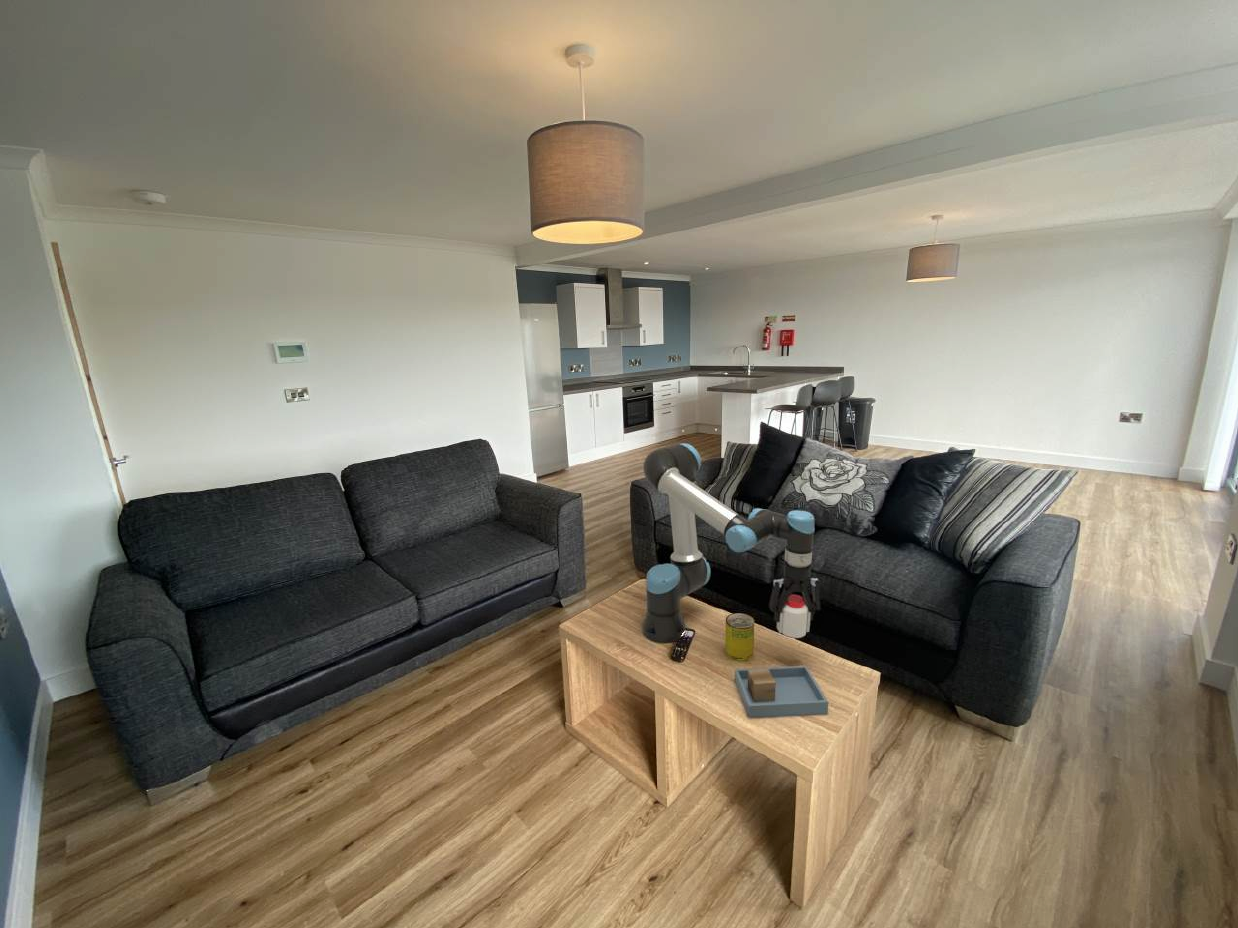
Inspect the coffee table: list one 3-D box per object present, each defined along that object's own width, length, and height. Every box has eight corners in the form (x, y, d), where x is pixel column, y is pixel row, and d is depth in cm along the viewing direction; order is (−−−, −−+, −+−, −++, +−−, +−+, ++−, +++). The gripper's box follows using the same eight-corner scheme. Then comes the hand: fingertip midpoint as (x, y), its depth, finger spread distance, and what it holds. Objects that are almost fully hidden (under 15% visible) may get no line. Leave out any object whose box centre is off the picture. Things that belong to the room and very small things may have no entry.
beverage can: (759, 657, 164) (760, 623, 161) (735, 664, 161) (736, 630, 158) (742, 642, 172) (743, 610, 169) (719, 649, 169) (720, 617, 166)
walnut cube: (747, 688, 149) (748, 670, 147) (767, 686, 149) (768, 668, 147) (753, 702, 143) (754, 683, 141) (775, 700, 143) (775, 682, 142)
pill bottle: (776, 623, 161) (778, 592, 158) (801, 623, 161) (803, 592, 158) (783, 638, 154) (785, 605, 151) (809, 637, 153) (812, 605, 150)
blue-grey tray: (734, 680, 153) (734, 669, 152) (805, 676, 154) (806, 665, 153) (748, 717, 138) (749, 705, 137) (827, 713, 139) (828, 701, 138)
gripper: (767, 569, 147) (763, 638, 153) (837, 566, 148) (830, 635, 154) (759, 557, 155) (756, 624, 161) (826, 555, 155) (820, 621, 161)
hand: (792, 629), depth 157 cm, fingers closed on pill bottle, 8 cm apart
